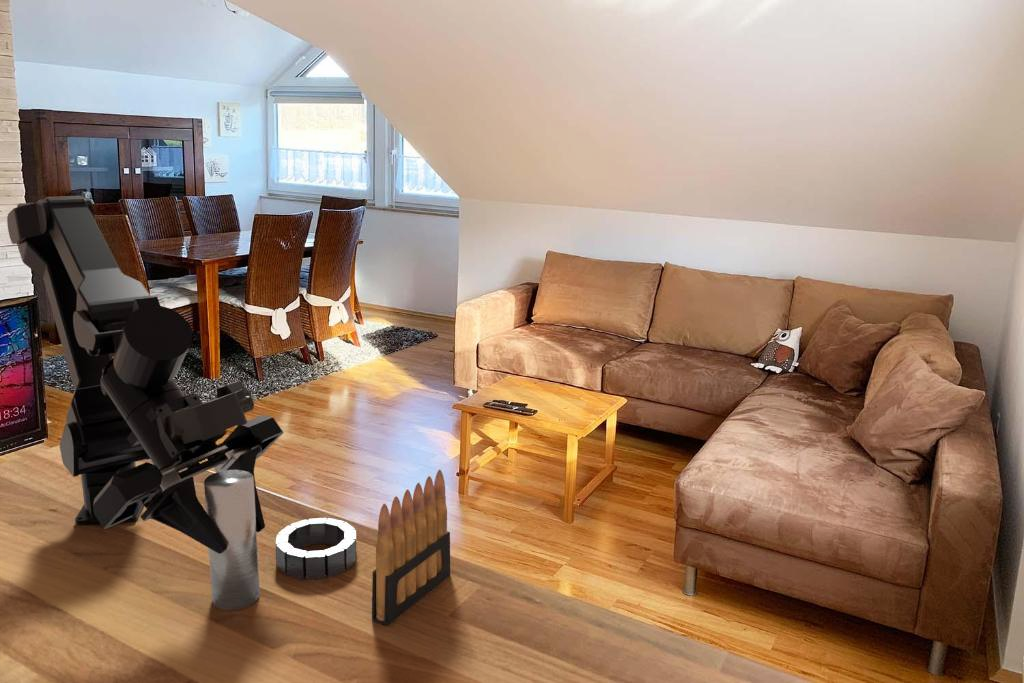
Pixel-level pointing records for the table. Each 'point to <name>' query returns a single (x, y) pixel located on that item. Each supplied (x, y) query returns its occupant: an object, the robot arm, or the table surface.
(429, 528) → the ammunition clip
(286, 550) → the ring
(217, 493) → the silver tall cylinder
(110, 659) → the table surface
